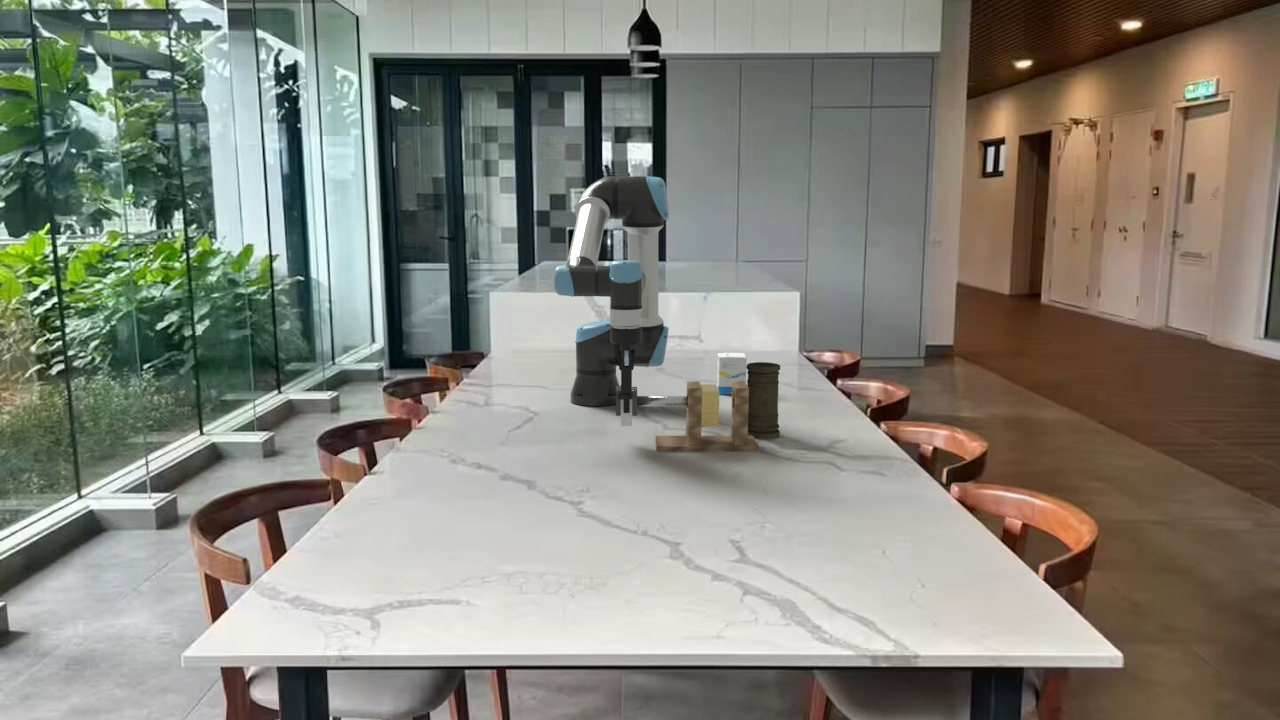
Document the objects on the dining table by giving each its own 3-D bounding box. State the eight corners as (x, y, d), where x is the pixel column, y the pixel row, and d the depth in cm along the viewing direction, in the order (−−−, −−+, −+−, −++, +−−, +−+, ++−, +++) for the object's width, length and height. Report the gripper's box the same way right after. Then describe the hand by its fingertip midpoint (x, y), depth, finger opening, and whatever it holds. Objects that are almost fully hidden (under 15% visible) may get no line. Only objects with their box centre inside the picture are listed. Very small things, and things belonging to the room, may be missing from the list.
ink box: (746, 395, 279) (747, 357, 277) (718, 394, 280) (718, 356, 278) (743, 389, 288) (744, 352, 286) (716, 389, 288) (717, 352, 286)
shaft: (615, 415, 218) (615, 390, 217) (616, 410, 223) (616, 386, 222) (719, 415, 218) (720, 391, 217) (717, 411, 223) (717, 386, 222)
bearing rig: (656, 451, 217) (657, 389, 214) (655, 440, 227) (655, 380, 224) (758, 451, 217) (760, 389, 215) (752, 440, 227) (754, 380, 224)
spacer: (701, 426, 217) (702, 391, 215) (698, 418, 225) (699, 384, 224) (718, 426, 217) (719, 391, 215) (714, 418, 225) (715, 384, 224)
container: (778, 440, 227) (781, 368, 224) (742, 438, 229) (743, 367, 226) (780, 431, 236) (782, 362, 233) (745, 429, 238) (747, 360, 235)
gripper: (643, 331, 208) (643, 432, 212) (641, 321, 226) (641, 413, 230) (609, 332, 208) (610, 432, 212) (610, 321, 226) (611, 414, 230)
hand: (626, 422), depth 221 cm, fingers closed on shaft, 5 cm apart
